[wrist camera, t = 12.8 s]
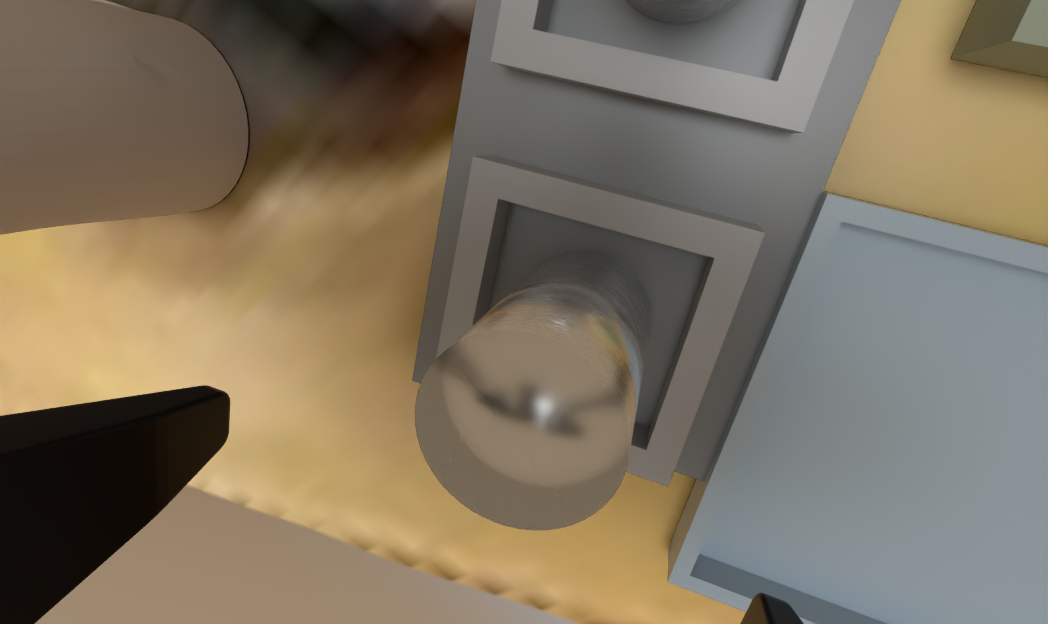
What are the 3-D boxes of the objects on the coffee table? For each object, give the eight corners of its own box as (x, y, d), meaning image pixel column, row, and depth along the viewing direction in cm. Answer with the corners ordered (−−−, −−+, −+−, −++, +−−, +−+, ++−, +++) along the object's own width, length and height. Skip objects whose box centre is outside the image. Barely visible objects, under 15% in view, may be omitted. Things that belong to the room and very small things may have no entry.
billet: (669, 272, 17) (660, 372, 10) (628, 394, 19) (594, 560, 11) (535, 234, 18) (433, 301, 11) (506, 354, 20) (400, 485, 12)
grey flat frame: (982, -233, 13) (1051, -319, 11) (702, 462, 20) (705, 508, 18) (540, -280, 15) (512, -363, 13) (425, 368, 22) (392, 397, 20)
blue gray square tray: (1384, 327, 14) (1478, 352, 12) (1074, 698, 19) (1111, 751, 17) (813, 188, 17) (827, 193, 15) (669, 547, 21) (667, 581, 20)
